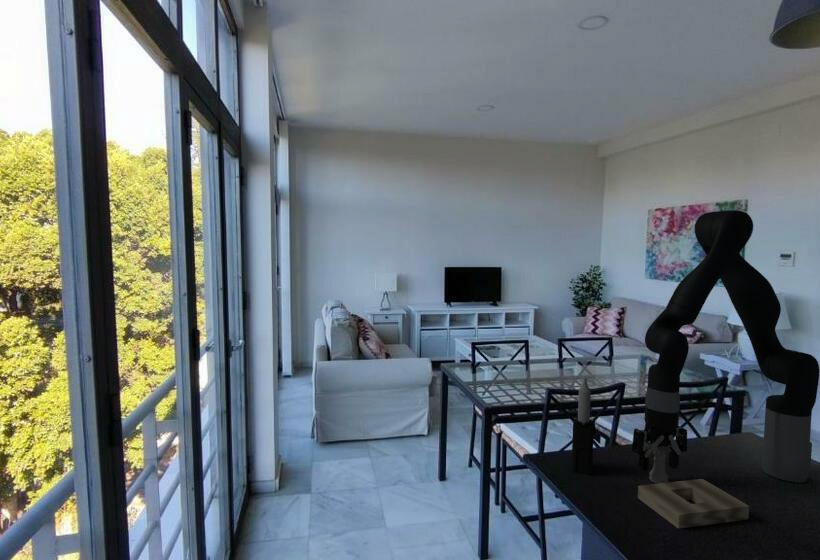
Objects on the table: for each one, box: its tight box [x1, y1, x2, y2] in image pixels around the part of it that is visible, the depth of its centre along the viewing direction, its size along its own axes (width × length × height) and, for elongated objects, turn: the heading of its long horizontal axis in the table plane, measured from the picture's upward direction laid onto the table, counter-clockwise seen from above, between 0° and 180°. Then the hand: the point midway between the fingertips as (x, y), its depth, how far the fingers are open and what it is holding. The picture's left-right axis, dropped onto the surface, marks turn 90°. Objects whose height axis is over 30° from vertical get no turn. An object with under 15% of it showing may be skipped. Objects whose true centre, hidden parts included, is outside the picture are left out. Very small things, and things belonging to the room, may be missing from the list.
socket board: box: [637, 478, 750, 529], centre depth 101 cm, size 18×12×3 cm, turn 102°
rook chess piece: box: [648, 447, 670, 484], centre depth 113 cm, size 4×4×8 cm
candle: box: [570, 377, 595, 476], centre depth 118 cm, size 5×5×25 cm
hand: (658, 468), depth 112 cm, fingers open, 8 cm apart
